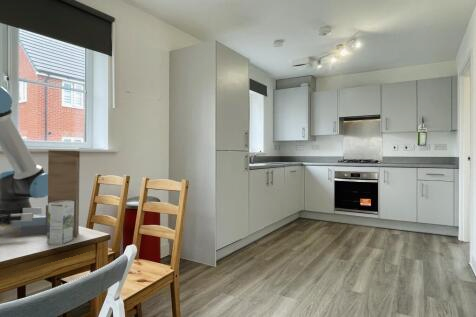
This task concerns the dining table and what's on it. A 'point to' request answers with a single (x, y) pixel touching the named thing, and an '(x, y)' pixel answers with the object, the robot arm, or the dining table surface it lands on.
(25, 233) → the board
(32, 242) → the dining table surface
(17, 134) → the robot arm
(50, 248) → the dining table surface
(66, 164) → the stand
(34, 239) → the dining table surface
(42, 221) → the mallet
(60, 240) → the syrup box
